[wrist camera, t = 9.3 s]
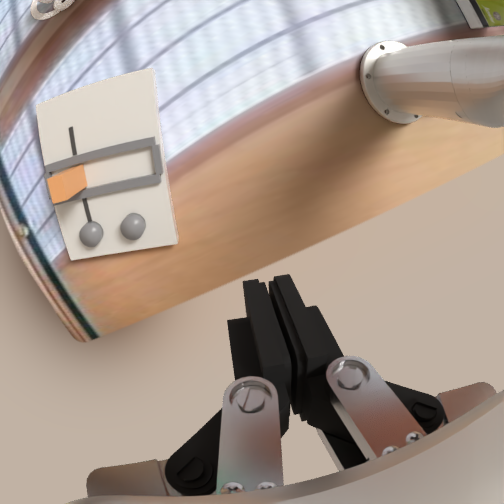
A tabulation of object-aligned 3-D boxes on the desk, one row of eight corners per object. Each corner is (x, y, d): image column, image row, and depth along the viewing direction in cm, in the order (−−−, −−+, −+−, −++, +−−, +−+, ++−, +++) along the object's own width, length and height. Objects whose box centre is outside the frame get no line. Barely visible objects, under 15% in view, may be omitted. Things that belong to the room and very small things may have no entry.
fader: (83, 164, 29) (61, 174, 24) (87, 185, 30) (67, 200, 25) (69, 167, 29) (47, 179, 23) (74, 189, 30) (52, 203, 25)
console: (155, 70, 27) (149, 65, 24) (179, 237, 37) (176, 249, 34) (43, 104, 26) (29, 105, 23) (76, 253, 36) (67, 265, 33)
